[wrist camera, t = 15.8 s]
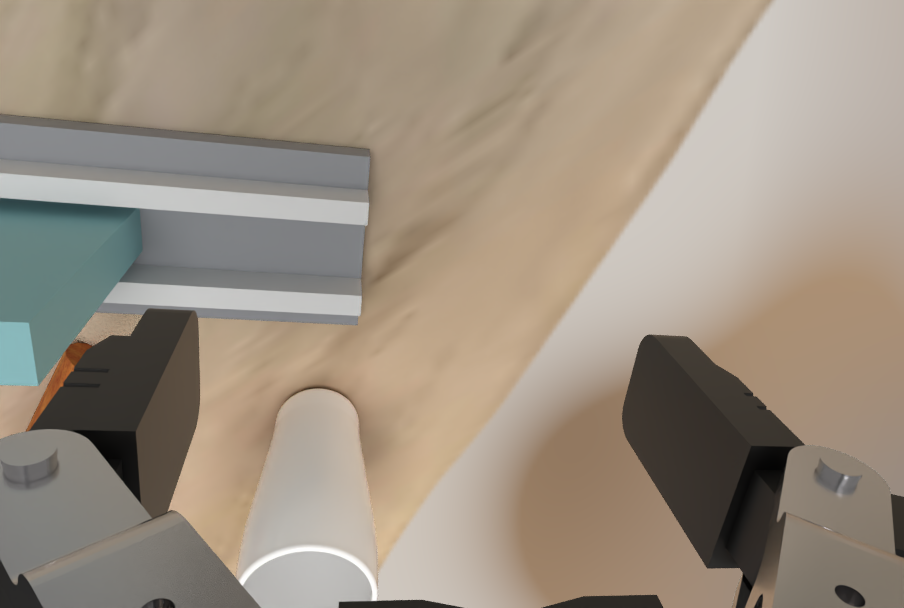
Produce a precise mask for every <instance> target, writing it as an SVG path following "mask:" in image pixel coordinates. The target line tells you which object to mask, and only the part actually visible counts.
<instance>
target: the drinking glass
mask: <svg viewBox="0 0 904 608" xmlns="http://www.w3.org/2000/svg"><path fill="white" fill-rule="evenodd" d="M236 579H237V580H238V581H239V582H240V584H241V585H242V586H243V587H244V588H245V589H246V591H247V592H248V593H249V594H250V595H251V596H252V598H253V599H254V600H255V601H256V602H257V604H258V605H259V606H260V607H261V608H338V607H339V602H346V601H377V599H378V552H377V537H376V528H375V521H374V515H373V509H372V504H371V498H370V493H369V487H368V482H367V476H366V471H365V465H364V459H363V453H362V447H361V441H360V431H359V418H358V415H357V412H356V410H355V408H354V406H353V405H352V403H351V402H350V401H349V400H348V399H347V398H346V397H344V396H343V395H341V394H339V393H337V392H335V391H332V390H328V389H321V388H316V389H308V390H304V391H301V392H299V393H297V394H295V395H293V396H292V397H290V398H289V399H288V400H287V401H286V402H285V403H284V404H283V405H282V407H281V408H280V410H279V412H278V415H277V418H276V422H275V428H274V433H273V437H272V440H271V444H270V447H269V450H268V454H267V457H266V460H265V463H264V467H263V470H262V473H261V476H260V479H259V483H258V486H257V489H256V492H255V495H254V498H253V501H252V505H251V508H250V511H249V514H248V518H247V521H246V525H245V529H244V533H243V537H242V541H241V546H240V551H239V557H238V563H237V570H236Z"/></svg>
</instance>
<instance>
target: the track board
mask: <svg viewBox="0 0 904 608" xmlns="http://www.w3.org/2000/svg"><path fill="white" fill-rule="evenodd" d="M369 168H370V152H369V149H361V148H351V147H340V146H330V145H319V144H309V143H298V142H288V141H277V140H267V139H256V138H245V137H235V136H224V135H214V134H203V133H193V132H182V131H172V130H161V129H151V128H140V127H130V126H119V125H109V124H98V123H87V122H77V121H66V120H56V119H45V118H35V117H24V116H14V115H3V114H0V198H9V199H23V200H36V201H49V202H63V203H76V204H89V205H102V206H116V207H129V208H140V221H141V234H142V248H143V251H142V252H141V253H140V255H139V256H138V257H137V258H136V260H135V261H134V262H133V264H132V265H131V266H130V268H129V269H128V270H127V271H126V273H125V274H124V275H123V277H122V278H121V279H120V281H119V282H118V283H117V284H116V286H115V287H114V288H113V290H112V291H111V292H110V293H109V295H108V296H107V297H106V299H105V300H104V301H103V303H102V304H101V305H100V306H99V308H98V309H97V310H96V312H100V313H120V314H140V315H144V313H145V311H146V310H147V309H148V308H155V309H174V310H194V311H196V313H197V317H201V318H221V319H241V320H261V321H281V322H302V323H322V324H342V325H358V316H360V315H361V302H362V287H361V272H362V259H363V246H364V233H365V225H368V212H369V197H368V181H369Z"/></svg>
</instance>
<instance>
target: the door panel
mask: <svg viewBox="0 0 904 608" xmlns="http://www.w3.org/2000/svg"><path fill="white" fill-rule="evenodd" d="M142 251H143V248H142V234H141V221H140V208H129V207H116V206H102V205H89V204H76V203H63V202H49V201H36V200H23V199H9V198H0V385H21V386H39V384H40V383H41V382H42V380H43V379H44V378H45V377H46V375H47V374H48V373H49V371H50V370H51V369H52V367H53V366H54V365H55V364H56V362H57V361H58V360H59V358H60V357H61V356H62V354H63V353H64V352H65V351H66V349H67V348H68V347H69V345H70V344H71V343H72V341H73V340H74V339H75V338H76V336H77V335H78V334H79V332H80V331H81V330H82V329H83V327H84V326H85V325H86V323H87V322H88V321H89V319H90V318H91V317H92V316H93V314H94V313H95V312H96V310H97V309H98V308H99V306H100V305H101V304H102V303H103V301H104V300H105V299H106V297H107V296H108V295H109V293H110V292H111V291H112V290H113V288H114V287H115V286H116V284H117V283H118V282H119V281H120V279H121V278H122V277H123V275H124V274H125V273H126V271H127V270H128V269H129V268H130V266H131V265H132V264H133V262H134V261H135V260H136V258H137V257H138V256H139V255H140V253H141V252H142Z"/></svg>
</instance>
